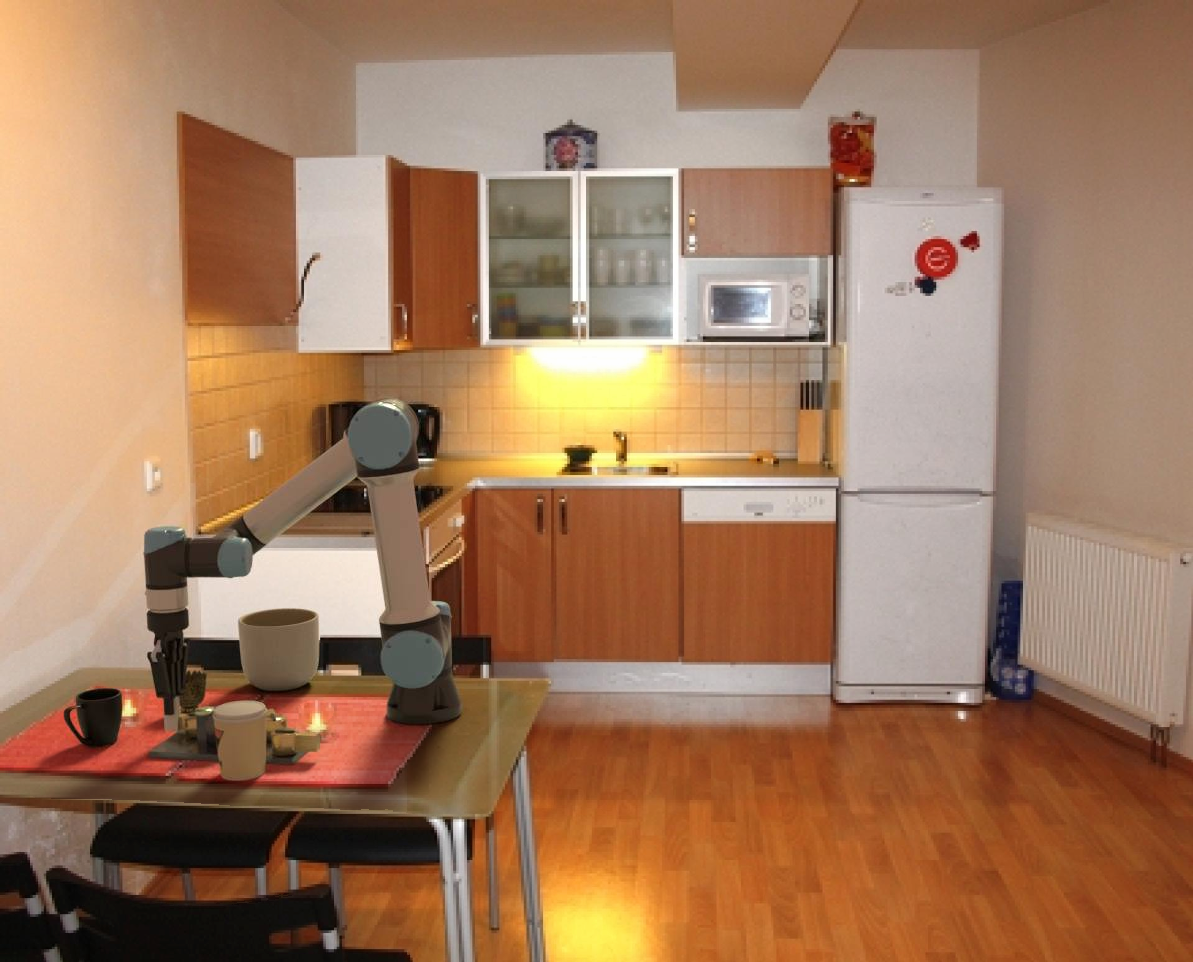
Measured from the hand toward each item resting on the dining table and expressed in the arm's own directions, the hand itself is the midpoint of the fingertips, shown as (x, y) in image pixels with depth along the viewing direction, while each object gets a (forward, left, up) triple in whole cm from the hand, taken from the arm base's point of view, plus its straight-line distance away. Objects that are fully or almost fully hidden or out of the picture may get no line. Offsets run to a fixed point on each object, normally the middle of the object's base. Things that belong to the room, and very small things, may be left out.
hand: (172, 729), depth 251 cm
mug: (+14, +4, -3) cm, 15 cm away
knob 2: (-19, -3, -1) cm, 19 cm away
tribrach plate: (-14, +2, -2) cm, 14 cm away
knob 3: (-27, +6, -1) cm, 28 cm away
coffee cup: (-21, +14, -3) cm, 25 cm away
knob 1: (-3, -1, -1) cm, 3 cm away
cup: (+5, -17, -3) cm, 18 cm away
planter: (-6, -38, -3) cm, 39 cm away
